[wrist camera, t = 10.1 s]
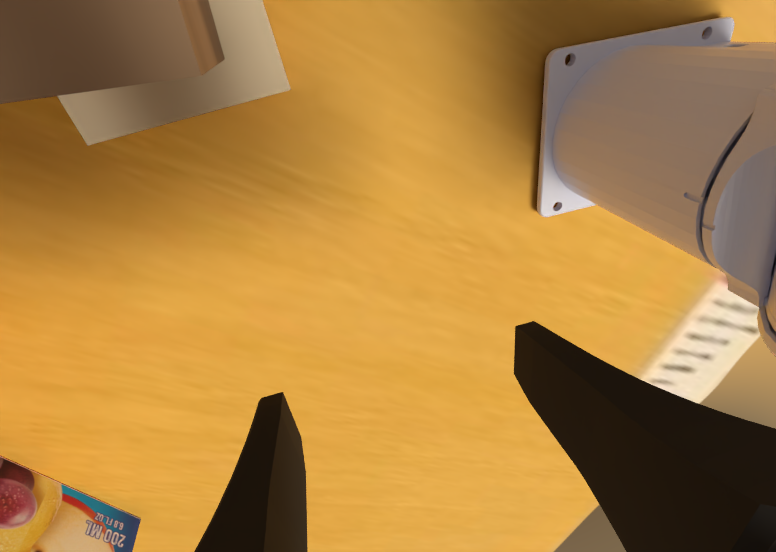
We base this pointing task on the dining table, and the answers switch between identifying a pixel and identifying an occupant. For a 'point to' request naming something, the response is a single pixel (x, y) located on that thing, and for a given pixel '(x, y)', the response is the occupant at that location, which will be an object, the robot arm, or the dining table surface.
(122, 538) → the juice carton
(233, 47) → the oak base
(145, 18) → the walnut block
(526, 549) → the dining table surface
